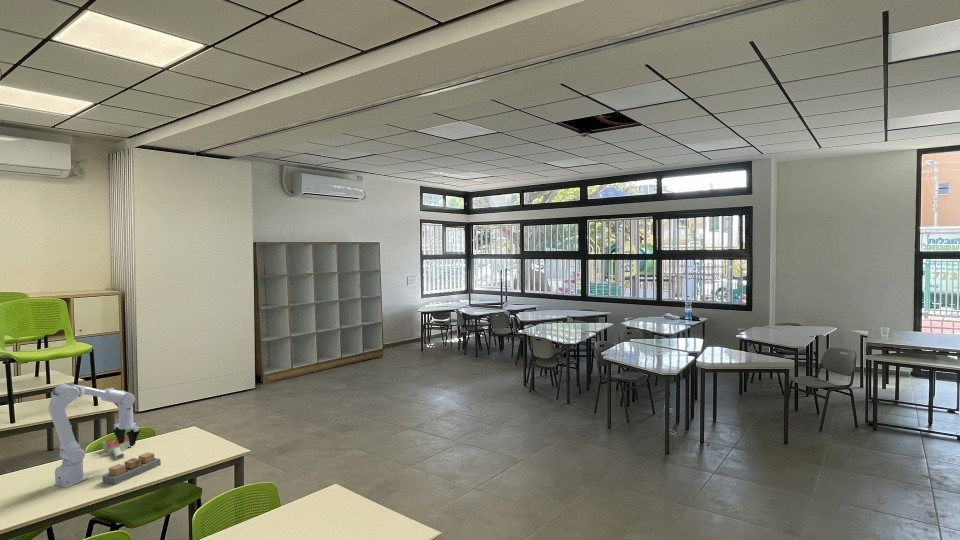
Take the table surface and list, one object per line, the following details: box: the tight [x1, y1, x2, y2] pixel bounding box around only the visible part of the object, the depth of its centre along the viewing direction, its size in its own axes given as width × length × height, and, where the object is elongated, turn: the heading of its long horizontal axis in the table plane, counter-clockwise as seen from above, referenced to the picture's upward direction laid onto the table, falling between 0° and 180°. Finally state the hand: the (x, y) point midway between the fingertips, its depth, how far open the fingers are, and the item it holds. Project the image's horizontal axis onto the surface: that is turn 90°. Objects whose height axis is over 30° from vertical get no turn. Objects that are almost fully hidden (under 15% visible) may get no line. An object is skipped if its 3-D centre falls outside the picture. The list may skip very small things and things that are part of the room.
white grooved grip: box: [102, 435, 132, 461], centre depth 264 cm, size 18×5×20 cm
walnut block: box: [123, 457, 141, 470], centre depth 240 cm, size 4×4×5 cm
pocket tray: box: [102, 452, 162, 486], centre depth 240 cm, size 22×8×6 cm, turn 160°
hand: (126, 444), depth 250 cm, fingers open, 7 cm apart
